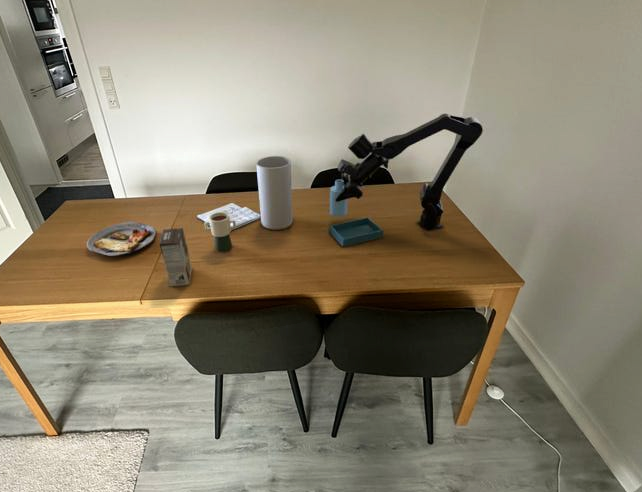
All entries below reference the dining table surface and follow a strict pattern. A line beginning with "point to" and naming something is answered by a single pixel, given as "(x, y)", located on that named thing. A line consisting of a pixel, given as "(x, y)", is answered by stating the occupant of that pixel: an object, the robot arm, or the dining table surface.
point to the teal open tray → (355, 231)
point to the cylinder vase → (275, 192)
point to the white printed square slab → (234, 214)
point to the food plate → (121, 238)
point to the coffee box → (176, 256)
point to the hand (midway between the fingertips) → (335, 197)
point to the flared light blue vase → (341, 206)
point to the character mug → (221, 230)
